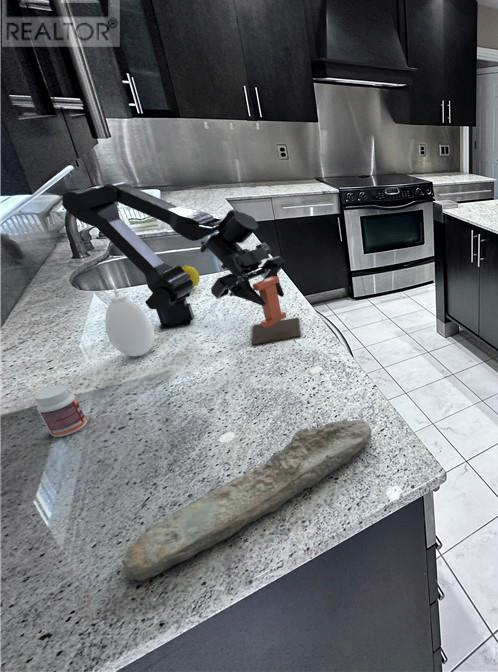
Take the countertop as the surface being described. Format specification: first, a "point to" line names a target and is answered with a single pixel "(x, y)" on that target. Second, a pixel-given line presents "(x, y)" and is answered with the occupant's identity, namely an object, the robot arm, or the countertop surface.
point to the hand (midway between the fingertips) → (273, 300)
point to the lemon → (192, 274)
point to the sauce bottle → (128, 326)
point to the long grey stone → (245, 498)
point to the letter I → (270, 301)
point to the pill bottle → (60, 411)
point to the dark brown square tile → (276, 331)
